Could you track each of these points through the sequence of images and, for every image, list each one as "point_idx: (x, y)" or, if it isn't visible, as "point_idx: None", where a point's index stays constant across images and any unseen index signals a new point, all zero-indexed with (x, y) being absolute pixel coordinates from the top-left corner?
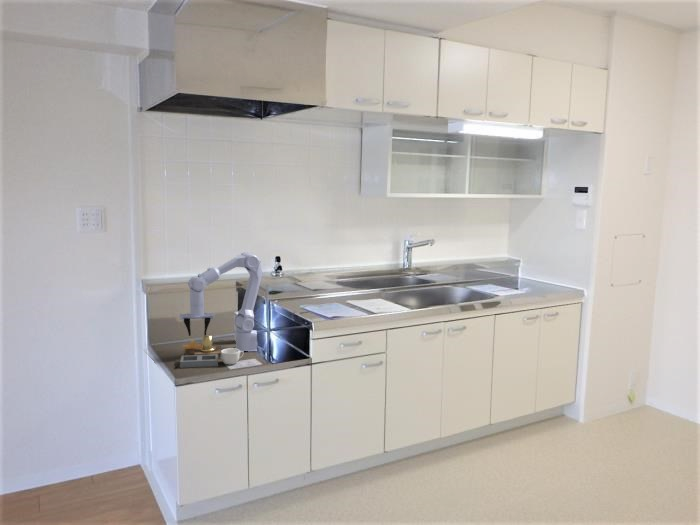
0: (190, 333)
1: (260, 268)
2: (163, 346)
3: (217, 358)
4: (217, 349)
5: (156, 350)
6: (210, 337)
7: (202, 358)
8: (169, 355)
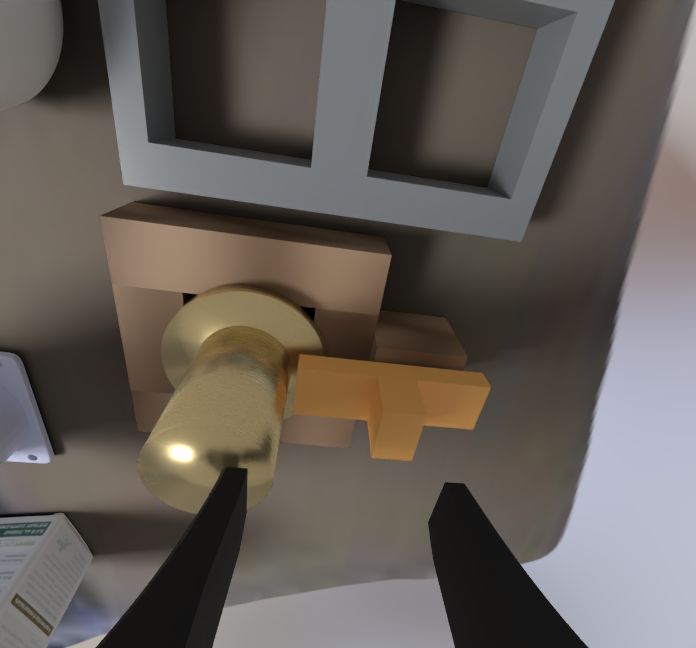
0: (448, 522)
1: None
2: (509, 536)
3: None
4: (153, 349)
5: (571, 490)
6: (162, 424)
7: (309, 165)
8: (534, 393)
